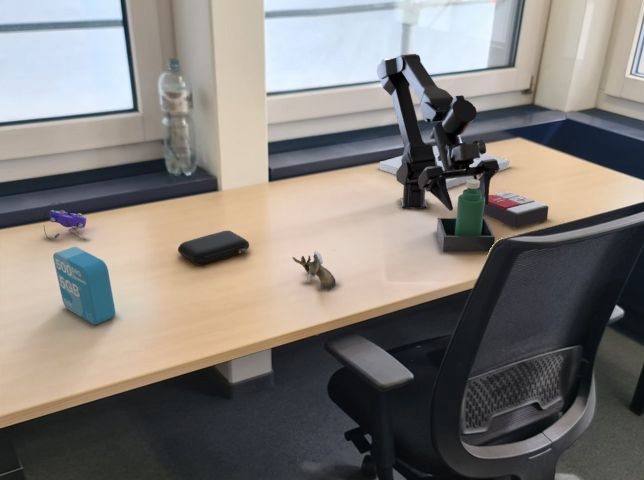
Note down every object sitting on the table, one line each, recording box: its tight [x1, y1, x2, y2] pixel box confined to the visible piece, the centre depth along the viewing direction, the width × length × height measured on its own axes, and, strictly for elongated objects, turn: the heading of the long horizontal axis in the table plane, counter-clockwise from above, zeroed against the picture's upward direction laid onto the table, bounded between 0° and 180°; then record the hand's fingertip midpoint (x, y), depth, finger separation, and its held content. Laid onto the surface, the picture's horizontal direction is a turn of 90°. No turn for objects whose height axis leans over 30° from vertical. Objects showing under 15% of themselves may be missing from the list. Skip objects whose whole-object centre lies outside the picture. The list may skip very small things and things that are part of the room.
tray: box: [436, 217, 496, 253], centre depth 176 cm, size 12×12×4 cm
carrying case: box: [177, 230, 250, 266], centre depth 170 cm, size 11×3×15 cm
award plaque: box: [379, 145, 510, 190], centre depth 222 cm, size 25×30×2 cm
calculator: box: [483, 190, 549, 229], centre depth 190 cm, size 11×4×15 cm
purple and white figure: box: [43, 202, 87, 241], centre depth 179 cm, size 10×8×10 cm
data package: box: [52, 246, 117, 326], centre depth 143 cm, size 12×4×12 cm, turn 47°
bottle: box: [455, 179, 485, 236], centre depth 172 cm, size 6×6×15 cm
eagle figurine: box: [291, 251, 337, 291], centre depth 157 cm, size 8×7×9 cm
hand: (469, 207), depth 171 cm, fingers open, 9 cm apart
